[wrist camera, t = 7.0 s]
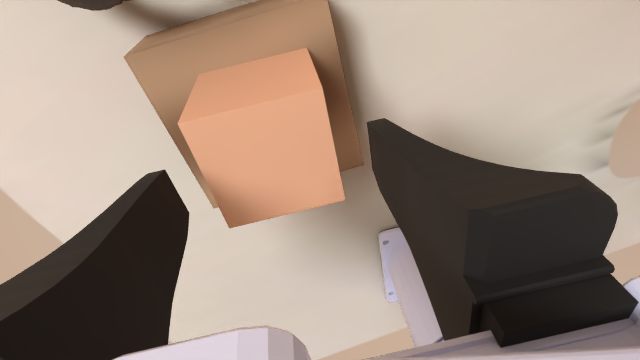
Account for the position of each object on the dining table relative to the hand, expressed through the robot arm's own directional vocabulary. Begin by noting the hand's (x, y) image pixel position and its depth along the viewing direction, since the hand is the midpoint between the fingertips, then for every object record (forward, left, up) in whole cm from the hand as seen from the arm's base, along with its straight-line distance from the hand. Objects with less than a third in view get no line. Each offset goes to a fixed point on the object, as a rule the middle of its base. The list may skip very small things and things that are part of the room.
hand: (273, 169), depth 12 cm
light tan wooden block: (-1, +1, -10) cm, 10 cm away
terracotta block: (0, 0, -6) cm, 6 cm away
